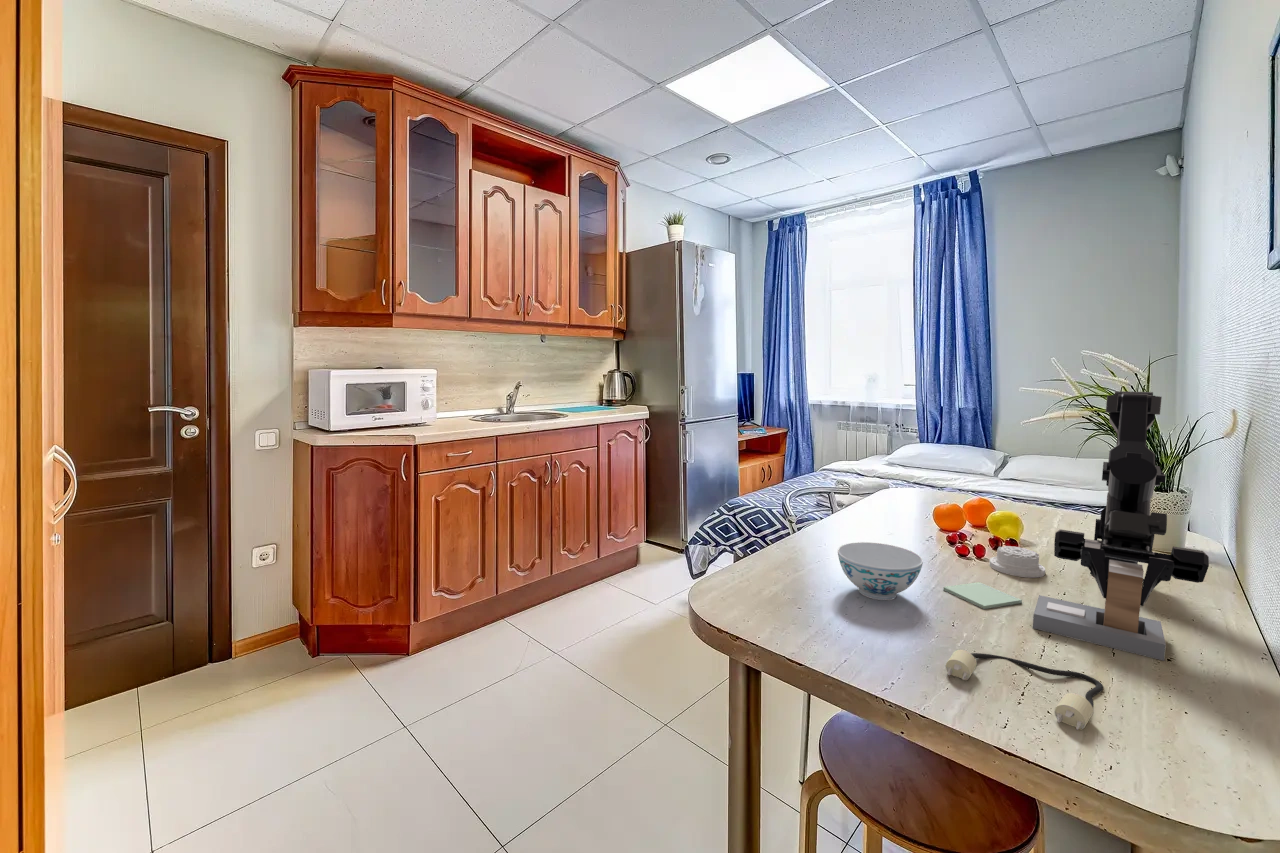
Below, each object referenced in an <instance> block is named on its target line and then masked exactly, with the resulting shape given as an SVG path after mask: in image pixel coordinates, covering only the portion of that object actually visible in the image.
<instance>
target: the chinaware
mask: <svg viewBox="0 0 1280 853" xmlns="http://www.w3.org/2000/svg"><path fill="white" fill-rule="evenodd" d="M837 558H838V560H839V563H840V564H839V565H840V567H841V569H842V571H843V573H844V575H845V576H846V578H847V579H848V580H849V581H850V582H851V583H852V584H853V585H854V586H855V587H857V588H858V592H859V594H861V595H862V596H864V597H867V598H868V599H869V598H870V599H873V600H878V601H891V600H894V599H895V598H897V595H898V594H900V593H902V592H904V591H905V590H908V589H909V588H910V587H911V586H912V585H913V584H914V583H915V582H916V580H917V578H918V577H919V575H920V572H921V570H922V568H923V564H924V560H923V557H921V556H920V555H919V554H918V553H916V552H914V551H912V550H909V549H907V548H904V547H901V546H897V545H892V544H887V543H879V542H867V541H866V542H865V541H860V542H850V543H845V544H843V545H841V546H839V547H838V549H837Z"/></svg>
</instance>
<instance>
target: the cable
mask: <svg viewBox="0 0 1280 853" xmlns="http://www.w3.org/2000/svg"><path fill="white" fill-rule="evenodd" d="M977 659H983V660H987V659H988V660H992V659H996V660H997V659H999V660H1005V661H1008V662H1011V663H1014V664H1016V665H1018V666H1020V667H1024V668H1027V669H1031V670H1033V671H1037V672H1040V673H1045V674H1048V675H1052V676H1059V677H1072V678H1077V679H1082V680H1085V681H1087V682H1090V683H1092V684H1093V685H1094V686H1095V687H1092V688H1091V689H1089V690H1088V691H1087V692H1086V693H1085V697H1084V696H1082V695H1080V694H1077V693H1074V692H1068V693H1065V694H1064V695H1063V697H1062V698H1061V699H1060V700H1059V702H1058V704H1057V705H1056V707H1055V708H1054V716H1055V718H1056V720H1057V723H1060V722H1062V723H1064V724H1067V725H1069V726H1071V727H1073V728H1076V730H1080V731H1082V730H1084V729H1085V728H1086V726H1087V724H1088V722H1089V721H1090V720H1091V717H1092V716H1093V713H1094V704H1095V703H1094V700H1093V697H1094V696H1096V695H1098V694H1099V693H1101V692H1102V691H1103V690H1104V685H1103V683H1101V682H1100V681H1099V680H1098V679H1096V678H1093V677H1091V676H1090V675H1087V674H1084V673H1081V672H1077V671H1072V670H1061V669H1053V668H1048V667H1044V666H1041V665H1038V664H1034V663H1031V662H1027V661H1023V660H1019V659H1015V658H1011V657H1007V656H1002V655H995V654H989V653H988V654H987V653H981V652H980V653H979V652H974V653H973V652H969V651H967V650H965V649H957V650H955V651H953V653H952V654H951V656H950V657H949V659H948V660H947V662H946V663H945V669H946V672H947V675H948V676H950V675H951V676H954V677H957V678H960V679H962V680H964V681H967V680H969V679H970V678H971V676H972V673H973V672H974V671H975V669H976V667H977Z"/></svg>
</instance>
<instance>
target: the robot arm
mask: <svg viewBox="0 0 1280 853" xmlns="http://www.w3.org/2000/svg"><path fill="white" fill-rule="evenodd" d="M1162 399H1163V398H1162V396H1158V395H1154V392H1153V391H1122V390H1121V391H1120V390H1119V391H1118V390H1117V391H1116V390H1115V391H1114V394H1110V395H1109V394H1108V395H1107V396H1106V403H1105V413H1106V414H1107V413H1109V418H1108V419H1109V420H1108V421H1109V424H1110V425H1111V426H1112V428H1113V429H1114V431H1115V432H1116V434H1117V435H1116V444H1115V445H1116V446H1114V447H1113V448H1111V449H1110V450H1109V452H1108V461H1103V463H1102V464H1103V465H1102V473H1101V481H1103V482H1106V487H1108V488H1107V489H1108V490H1107V491H1108V492H1107V493H1106V494H1107V495H1106V504H1105V506H1104V507H1103V509H1101V510H1100V518H1096V519H1095V526H1094V536H1093V539H1088V538H1085V532H1080V531H1072V530H1065V529H1059V530H1057V531H1055V534H1054V543H1053V544H1054V546H1053V548H1054V549H1053V550H1054V552H1053V553H1054V554H1053V555H1054V557H1056V558H1057V559H1063V560H1069V561H1074V562H1077V561H1080V566H1082V567H1083V568H1088V570H1089V571H1090V572H1089V574H1090V575H1092V576H1093V578H1094V579H1095V582H1096V585H1097V586H1098V589H1099V591H1100V593H1101V596H1102V598H1103V599H1106V597H1107V579H1108V569H1109V559H1110V560H1116V561H1122V562H1128V563H1134V564H1139V563H1143V564H1147V566H1146V571H1145V574H1144V577H1143V583H1142V593H1141V603H1140V607H1144V605H1145V603H1146V602H1147V600H1148V598H1149V597H1150V594H1151V593H1152V591H1153V590H1154V589H1155V588H1156V587H1157V586H1158V585H1159V584H1160V583H1161V582H1170V581H1171V579H1172V578H1174V580H1180V581H1185V582H1192V583H1203V582H1204V580H1205V578H1206V576H1207V572H1208V569H1209V567H1210V564H1209V563H1210V562H1209V561H1210V558H1209V555H1208V554H1207V553H1206V552H1204V550H1199V549H1193V548H1185V547H1181V546H1172V548H1171V553H1169V554H1168V553H1162V552H1155V551H1153V546H1154V540H1155V535H1158V536H1165V535H1166V533H1167V529H1168V528H1167V527H1168V526H1167V524H1168V514H1167V513H1160V512H1153V511H1151V500H1152V498H1153V497H1154V496H1153V495H1154V491H1155V487H1159V486H1161V484H1162V483H1163V484H1164V483H1166V474H1165V473H1164V472H1163V470H1161V467H1160V466H1157V465H1156V453H1154V452H1153V450H1151V449H1150V448H1148V447H1147V441H1148V440H1147V438H1148V435H1147V434H1148V430H1149V429H1150V428H1151V427H1152V425H1153V423H1154V421H1155V417H1156V416H1158V415H1161V410H1162V408H1161V407H1162Z"/></svg>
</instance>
